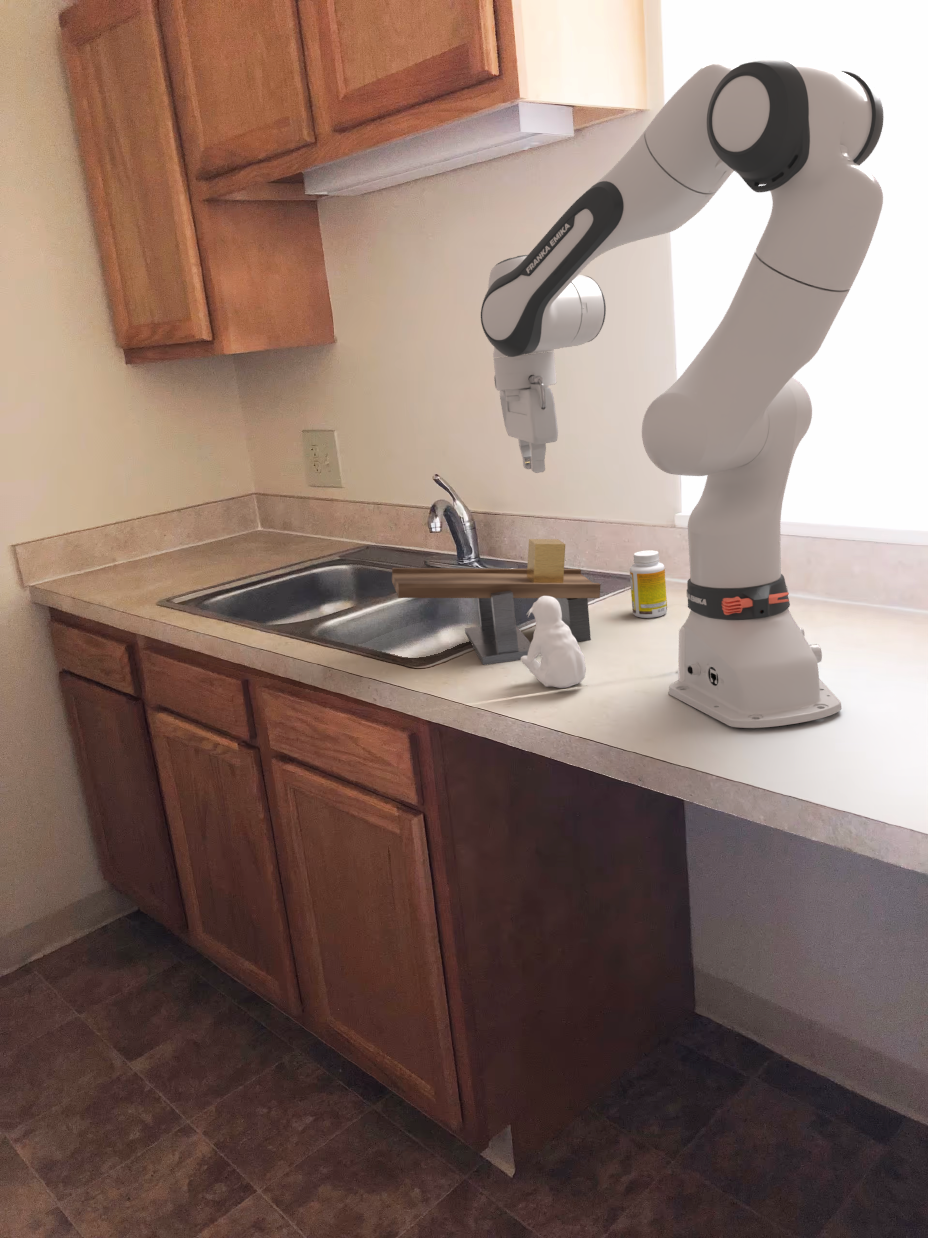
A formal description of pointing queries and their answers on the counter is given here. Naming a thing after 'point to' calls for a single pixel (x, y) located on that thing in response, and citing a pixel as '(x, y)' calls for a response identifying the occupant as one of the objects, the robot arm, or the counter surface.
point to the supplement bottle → (648, 585)
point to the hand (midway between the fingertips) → (534, 470)
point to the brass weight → (546, 561)
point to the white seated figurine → (553, 647)
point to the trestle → (505, 639)
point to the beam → (486, 583)
